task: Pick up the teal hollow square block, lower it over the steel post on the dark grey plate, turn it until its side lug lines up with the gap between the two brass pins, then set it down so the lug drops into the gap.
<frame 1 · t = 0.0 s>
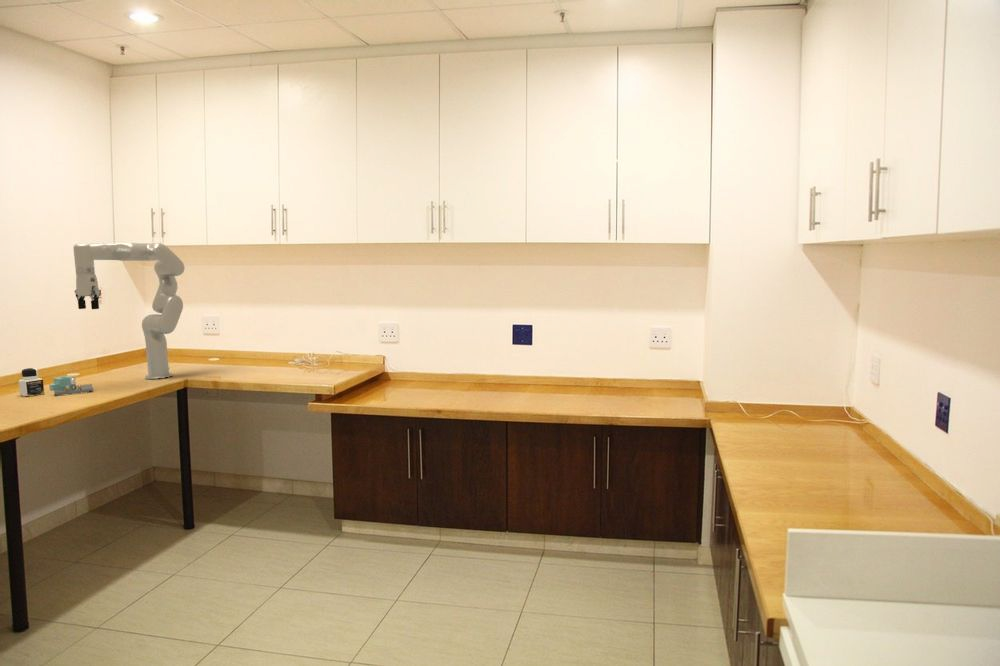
hand: (88, 308, 332), 37 cm above the worktop, tool pointing down, fingers open, 9 cm apart
medicine bottle: (32, 395, 327), on the worktop
post base: (73, 391, 333), on the worktop
teal hollow square block: (64, 387, 343), on the worktop
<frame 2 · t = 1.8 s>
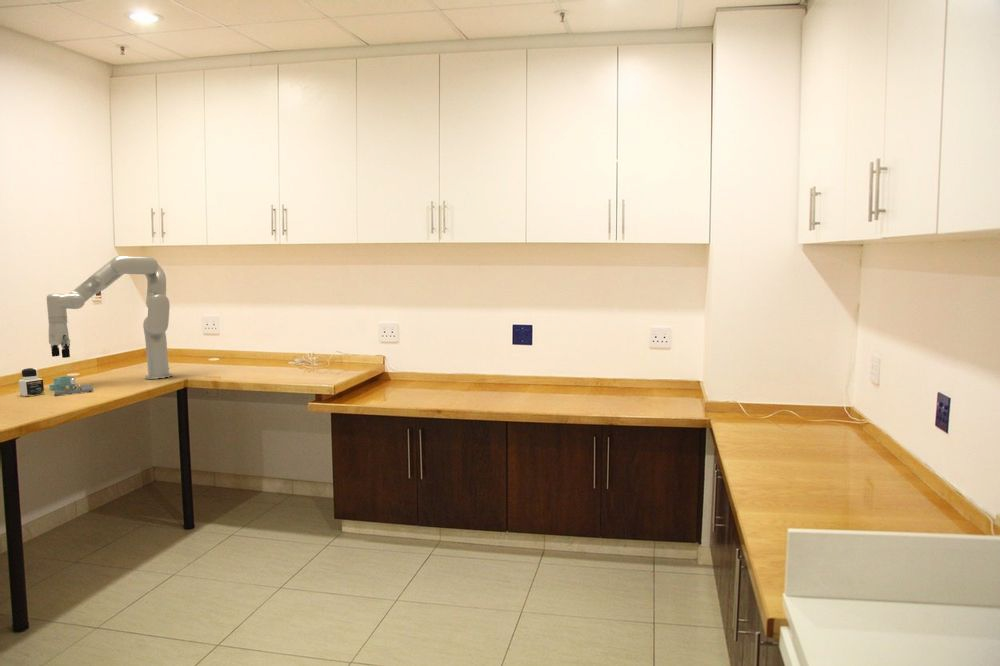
hand: (60, 356, 341), 15 cm above the worktop, tool pointing down, fingers open, 9 cm apart
nothing on the worktop moved.
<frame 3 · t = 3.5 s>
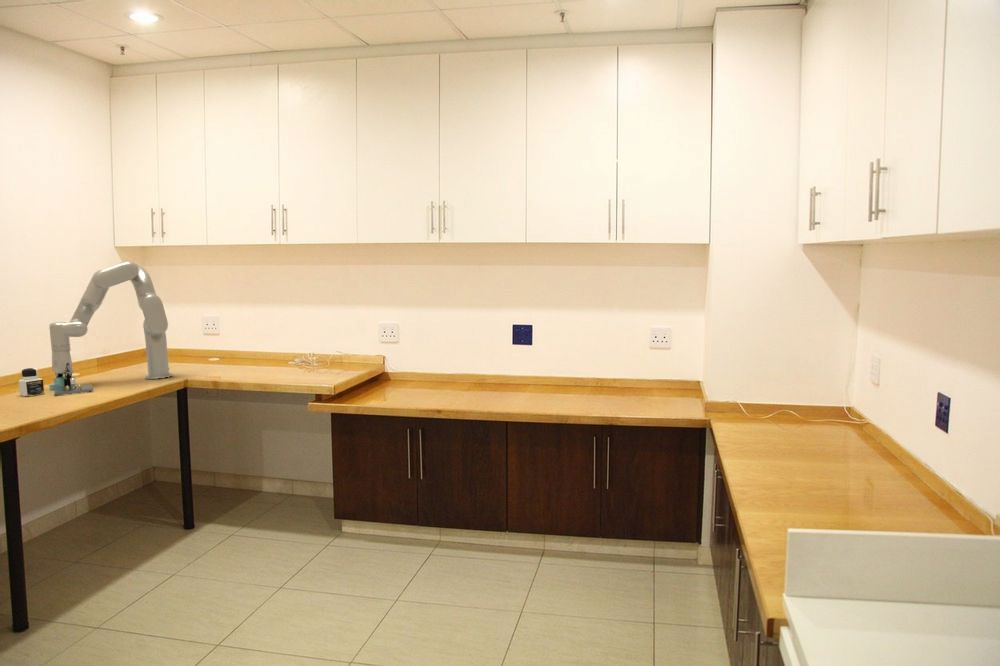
hand: (64, 386, 342), 1 cm above the worktop, tool pointing down, fingers closed on teal hollow square block, 6 cm apart
teal hollow square block: (64, 387, 343), on the worktop, touching gripper
everything else where it was.
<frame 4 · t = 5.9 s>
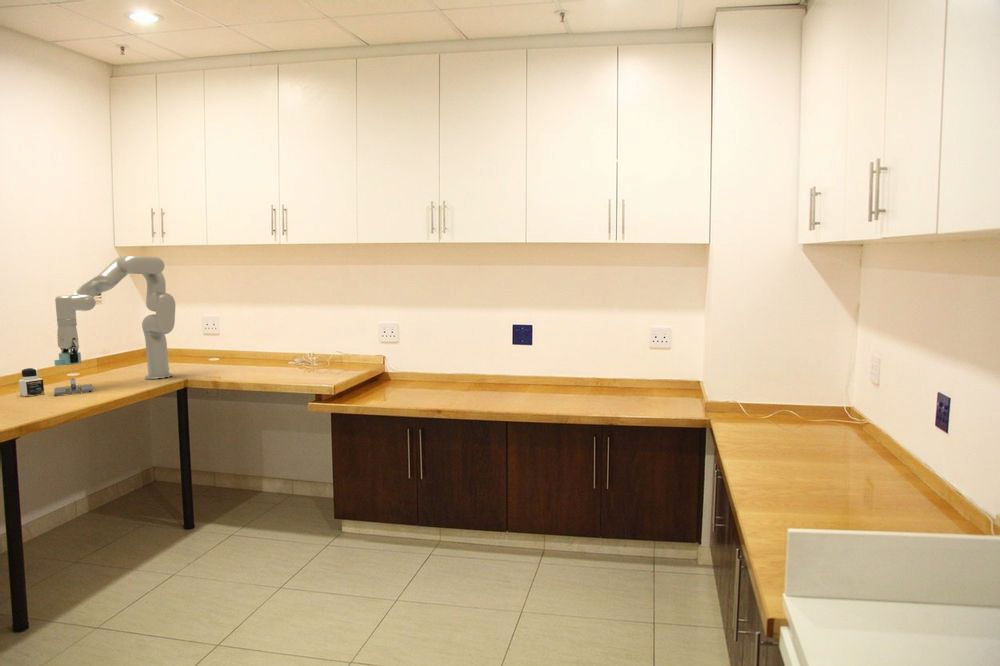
hand: (70, 361, 331), 14 cm above the worktop, tool pointing down, fingers closed on teal hollow square block, 6 cm apart
teal hollow square block: (70, 363, 331), point 13 cm above the worktop, touching gripper
everything else where it was.
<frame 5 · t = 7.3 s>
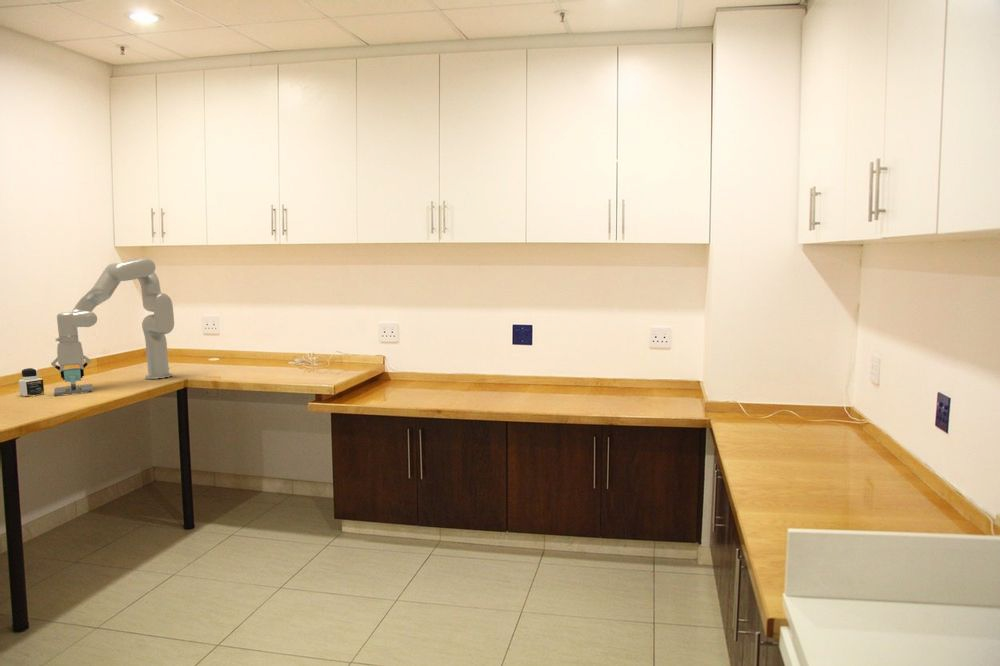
hand: (72, 378, 332), 6 cm above the worktop, tool pointing down, fingers closed on teal hollow square block, 6 cm apart
teal hollow square block: (73, 380, 332), point 5 cm above the worktop, touching gripper
everything else where it was.
when the fingers open (3 cm above the worktop, at t = 8.6 s): teal hollow square block stays where it is, resting on post base.
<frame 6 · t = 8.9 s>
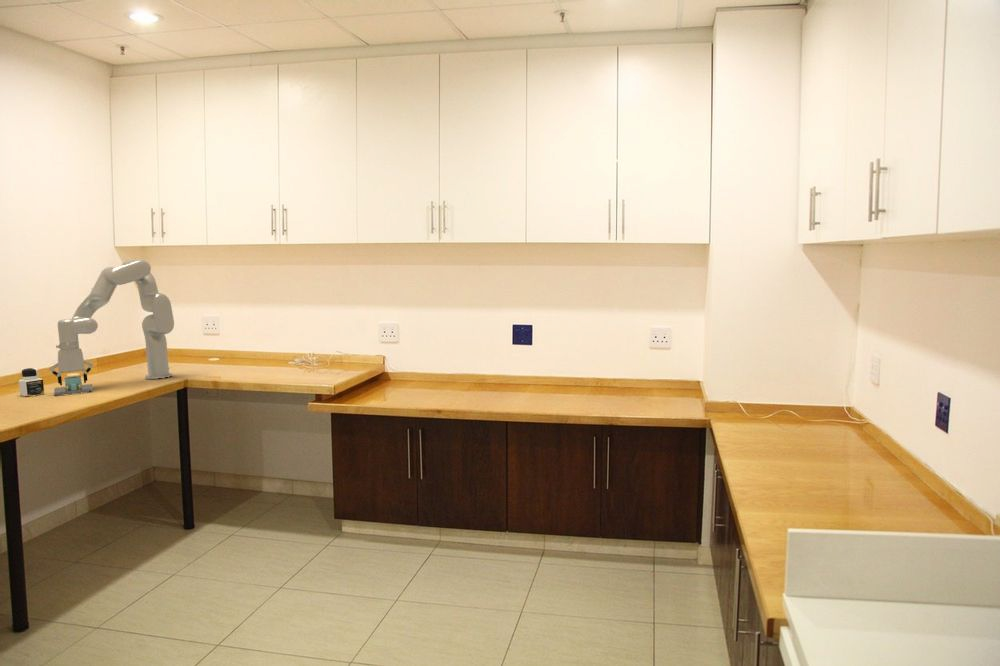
hand: (73, 383, 332), 4 cm above the worktop, tool pointing down, fingers open, 9 cm apart
teal hollow square block: (73, 388, 332), point 1 cm above the worktop, touching post base
everything else where it was.
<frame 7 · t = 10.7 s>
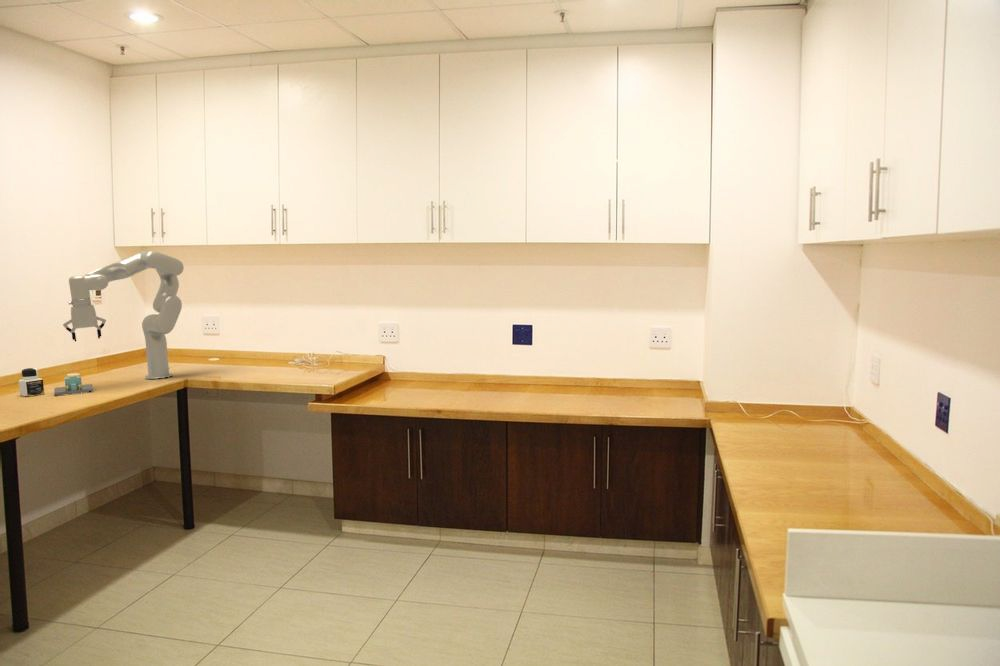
hand: (87, 339, 336), 23 cm above the worktop, tool pointing down, fingers open, 9 cm apart
nothing on the worktop moved.
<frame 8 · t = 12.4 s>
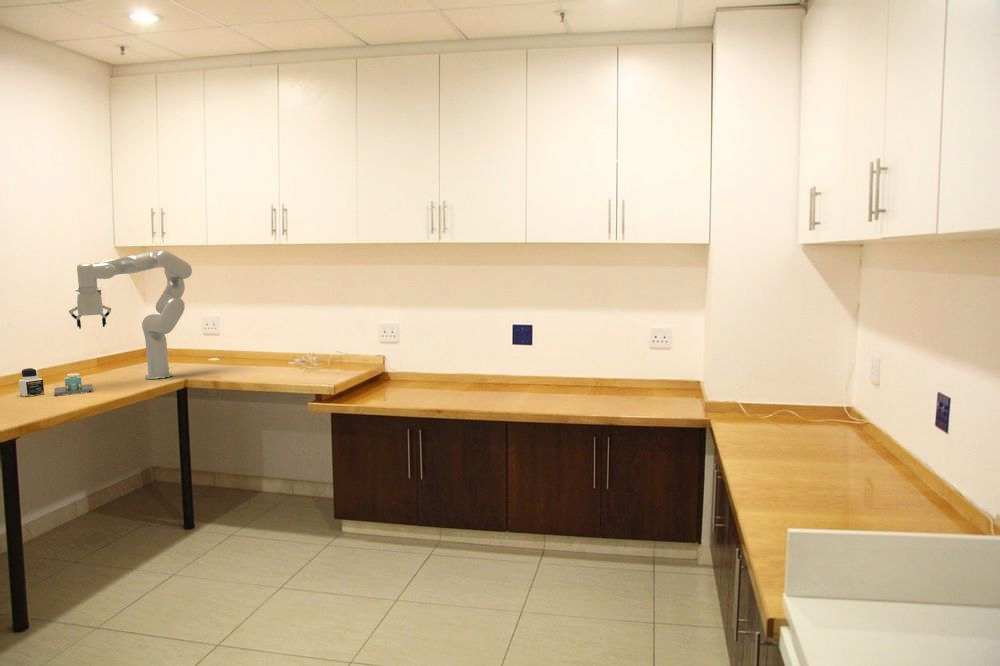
hand: (92, 327, 338), 28 cm above the worktop, tool pointing down, fingers open, 9 cm apart
nothing on the worktop moved.
at the end: teal hollow square block 0.1 cm off-centre on the post base, point 1.5 cm above the post base's base; teal hollow square block tilted 0°; the gripper is holding nothing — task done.
